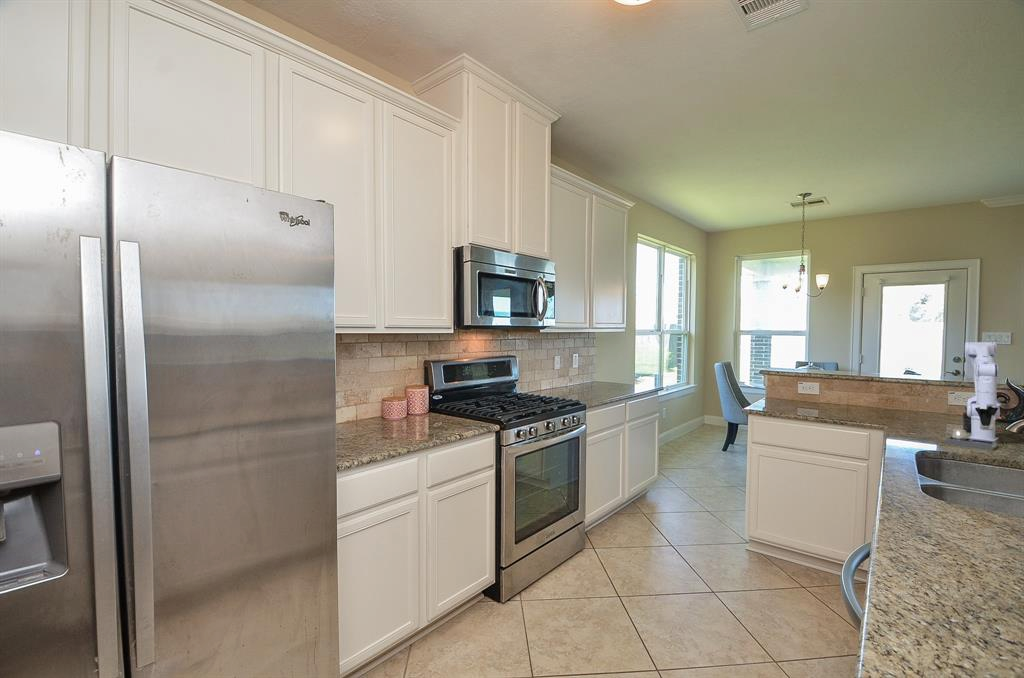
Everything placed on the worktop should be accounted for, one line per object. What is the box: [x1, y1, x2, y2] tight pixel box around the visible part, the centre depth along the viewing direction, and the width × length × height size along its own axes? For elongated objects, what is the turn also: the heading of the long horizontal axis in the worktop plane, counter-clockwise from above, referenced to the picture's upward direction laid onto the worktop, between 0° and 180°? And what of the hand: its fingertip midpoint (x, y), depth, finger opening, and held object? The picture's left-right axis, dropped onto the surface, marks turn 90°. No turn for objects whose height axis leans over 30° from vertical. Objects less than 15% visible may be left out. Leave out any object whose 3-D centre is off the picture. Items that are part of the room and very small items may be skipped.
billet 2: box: [980, 415, 994, 430], centre depth 186 cm, size 4×4×6 cm
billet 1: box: [952, 428, 967, 441], centre depth 185 cm, size 4×4×6 cm
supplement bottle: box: [962, 406, 971, 434], centre depth 212 cm, size 7×7×12 cm
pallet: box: [945, 435, 997, 451], centre depth 183 cm, size 9×13×2 cm
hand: (986, 425), depth 186 cm, fingers closed on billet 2, 4 cm apart
